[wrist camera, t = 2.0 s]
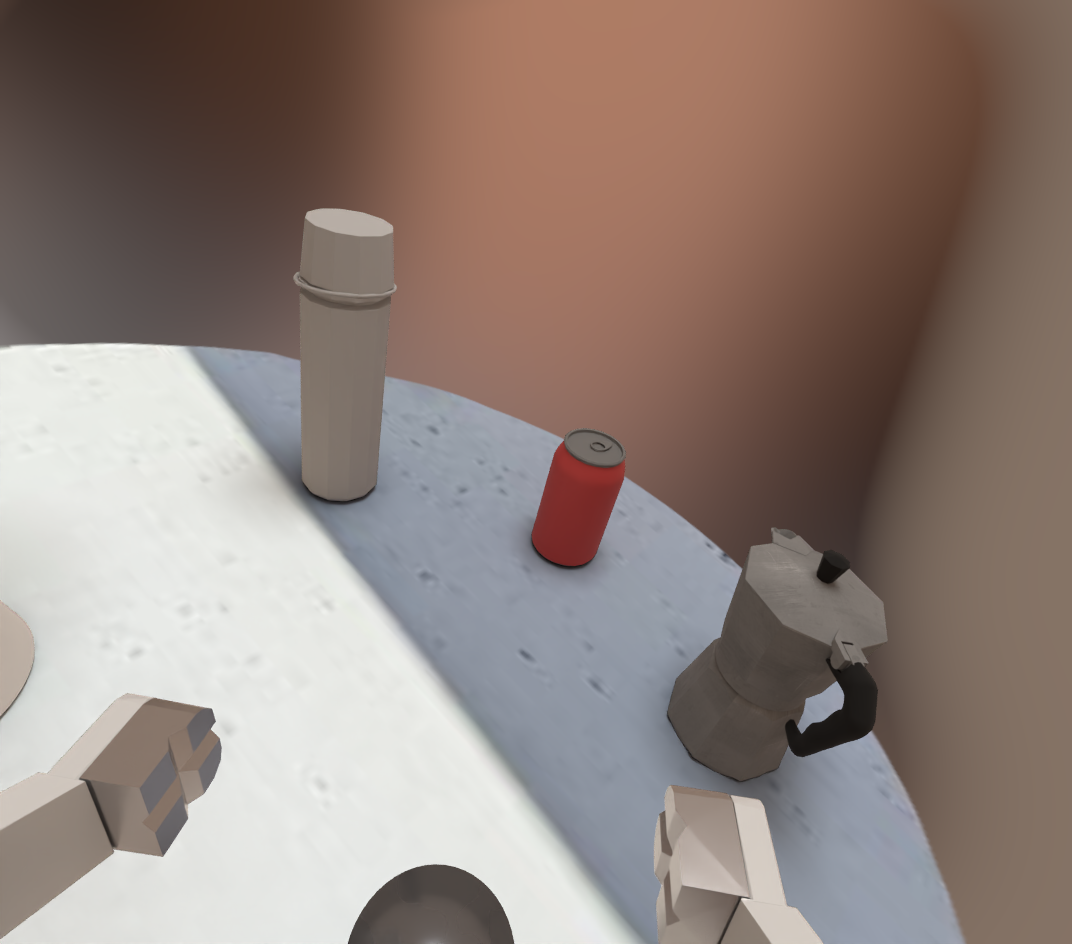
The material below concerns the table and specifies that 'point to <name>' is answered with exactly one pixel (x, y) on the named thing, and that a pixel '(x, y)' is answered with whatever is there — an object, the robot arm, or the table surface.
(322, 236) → the water bottle
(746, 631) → the coffeepot
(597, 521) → the beer can
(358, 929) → the pin
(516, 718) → the table surface
